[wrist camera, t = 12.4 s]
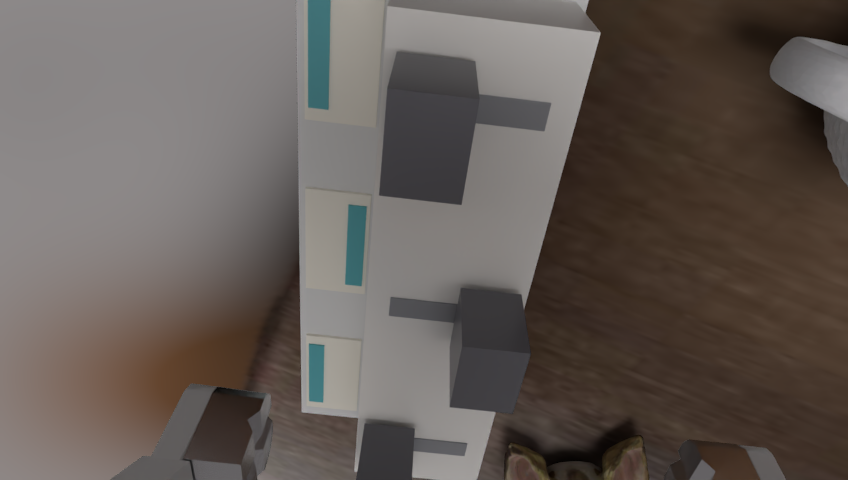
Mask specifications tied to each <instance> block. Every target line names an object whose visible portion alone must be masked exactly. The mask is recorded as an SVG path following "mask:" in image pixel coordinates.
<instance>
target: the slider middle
mask: <svg viewBox="0 0 848 480" xmlns="http://www.w3.org/2000/svg"><path fill="white" fill-rule="evenodd" d="M530 355H531V351H530V345H529V339H528V332H527V326H526V320H525V313H524V307H523V301H522V295H521V294H513V293H504V292H495V291H486V290H477V289H468V288H461V289H460V294H459V299H458V305H457V310H456V315H455V321H454V326H453V331H452V336H451V342H450V407H452V408H461V409H471V410H481V411H490V412H500V413H509V414H513V411H514V408H515V405H516V401H517V398H518V395H519V391H520V388H521V385H522V381H523V378H524V375H525V372H526V368H527V365H528V362H529V358H530Z"/></svg>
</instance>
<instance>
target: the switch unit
mask: <svg viewBox="0 0 848 480" xmlns="http://www.w3.org/2000/svg"><path fill="white" fill-rule="evenodd" d="M588 1H589V0H296V38H297V39H296V40H297V108H298V109H297V112H298V173H299V174H298V179H299V180H298V182H299V254H300V325H301V395H302V412H304V413H314V414H324V415H333V416H343V417H353V418H358V427H357V441H356V455H355V469H354V471H355V472H357V471H358V464H359V458H360V451H361V444H362V437H363V431H364V424H365V423H367V424H377V425H386V426H396V427H406V428H415V435H414V451H413V467H412V477H415V478H425V479H435V480H477V478H478V474H479V471H480V467H481V463H482V460H483V456H484V453H485V449H486V445H487V442H488V438H489V434H490V431H491V427H492V424H493V420H494V416H495V413H496V412H490V411H481V410H471V409H461V408H452V407H450V342H451V336H452V331H453V326H454V321H455V315H456V310H457V305H458V299H459V294H460V289H461V288H468V289H477V290H486V291H495V292H504V293H513V294H521V295H522V301H523V307H524V308H525V305H526V301H527V297H528V294H529V290H530V286H531V283H532V279H533V276H534V272H535V268H536V265H537V261H538V258H539V254H540V250H541V247H542V243H543V240H544V236H545V232H546V229H547V225H548V221H549V218H550V214H551V211H552V207H553V203H554V200H555V196H556V193H557V189H558V185H559V182H560V178H561V175H562V171H563V167H564V164H565V160H566V157H567V153H568V149H569V146H570V142H571V138H572V135H573V131H574V128H575V124H576V120H577V117H578V113H579V110H580V106H581V102H582V99H583V95H584V92H585V88H586V84H587V81H588V77H589V73H590V70H591V66H592V63H593V59H594V55H595V52H596V48H597V45H598V41H599V37H600V34H601V32H600V31H599V30H598V28H597V27H596V26H595V25H594V23H593V22H592V21H591V20H590V18H589V17H588V16H587V15H586V9H587V5H588ZM396 52H405V53H413V54H421V55H429V56H437V57H446V58H454V59H462V60H470V61H475V63H476V71H477V80H478V89H479V97H480V101H479V107H478V113H477V118H476V124H475V130H474V136H473V142H472V147H471V153H470V159H469V165H468V171H467V176H466V182H465V188H464V194H463V200H462V205H456V204H448V203H439V202H430V201H421V200H413V199H404V198H395V197H387V196H379V189H380V176H381V163H382V150H383V137H384V124H385V111H386V98H387V87H388V83H389V79H390V76H391V72H392V68H393V64H394V60H395V56H396Z"/></svg>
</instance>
